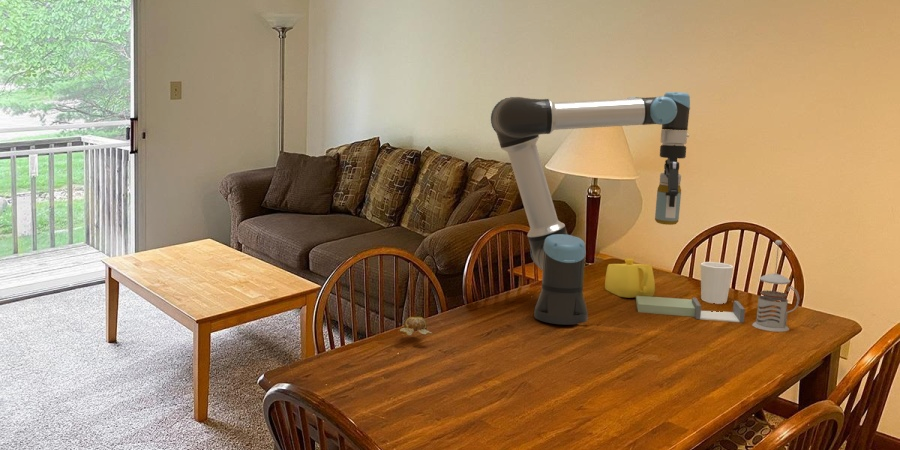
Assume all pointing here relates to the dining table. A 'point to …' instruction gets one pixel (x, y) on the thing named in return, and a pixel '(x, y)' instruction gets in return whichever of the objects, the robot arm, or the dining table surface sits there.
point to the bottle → (662, 201)
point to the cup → (715, 281)
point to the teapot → (630, 279)
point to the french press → (774, 303)
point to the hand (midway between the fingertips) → (667, 215)
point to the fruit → (415, 326)
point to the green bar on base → (687, 308)
